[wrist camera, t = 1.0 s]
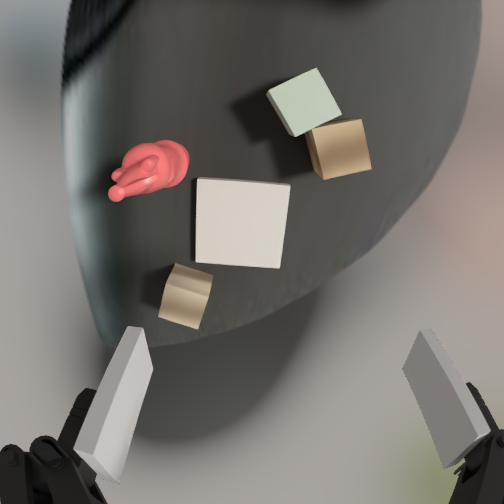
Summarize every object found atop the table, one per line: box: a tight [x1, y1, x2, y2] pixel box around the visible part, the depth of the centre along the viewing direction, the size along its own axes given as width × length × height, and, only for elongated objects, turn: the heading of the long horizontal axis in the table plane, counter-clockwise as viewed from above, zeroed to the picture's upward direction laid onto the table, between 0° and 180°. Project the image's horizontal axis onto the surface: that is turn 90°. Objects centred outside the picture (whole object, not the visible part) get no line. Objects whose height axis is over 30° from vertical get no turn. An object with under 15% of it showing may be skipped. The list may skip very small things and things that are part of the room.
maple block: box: [158, 263, 213, 329], centre depth 36 cm, size 5×5×5 cm
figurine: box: [108, 140, 189, 202], centre depth 25 cm, size 5×5×15 cm
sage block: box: [266, 68, 342, 137], centre depth 27 cm, size 5×5×5 cm
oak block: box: [305, 119, 371, 180], centre depth 28 cm, size 5×5×5 cm
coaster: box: [196, 177, 290, 268], centre depth 34 cm, size 10×10×1 cm
